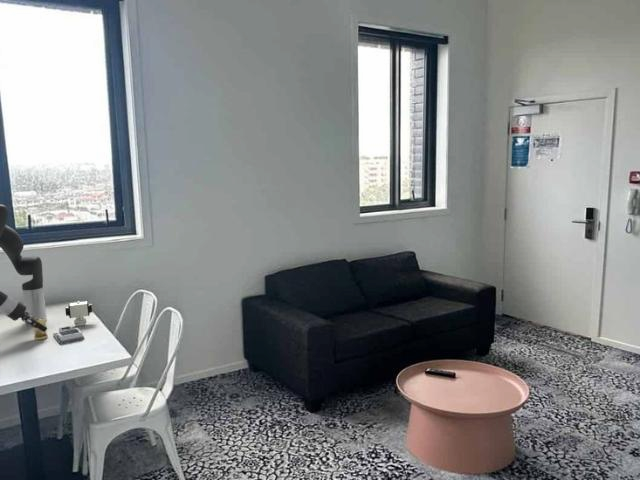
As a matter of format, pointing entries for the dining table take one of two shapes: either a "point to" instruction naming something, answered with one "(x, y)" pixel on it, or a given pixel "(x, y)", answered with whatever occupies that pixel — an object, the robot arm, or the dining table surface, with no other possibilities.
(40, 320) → the brass fitting
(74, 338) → the plate
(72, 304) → the pneumatic valve
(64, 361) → the dining table surface
